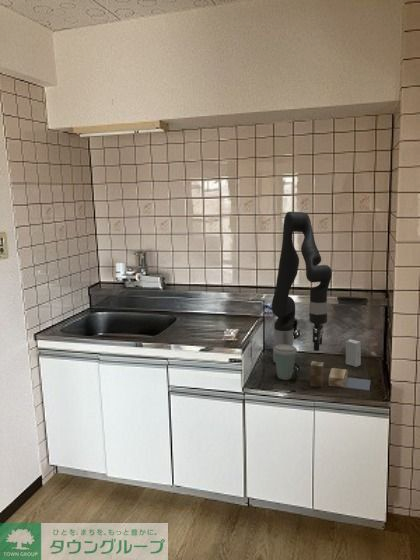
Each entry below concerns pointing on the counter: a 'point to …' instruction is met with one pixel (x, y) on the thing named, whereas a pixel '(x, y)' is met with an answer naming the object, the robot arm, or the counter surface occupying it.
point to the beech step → (338, 377)
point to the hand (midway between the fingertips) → (317, 347)
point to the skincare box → (353, 352)
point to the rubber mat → (358, 384)
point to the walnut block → (317, 374)
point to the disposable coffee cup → (285, 360)
